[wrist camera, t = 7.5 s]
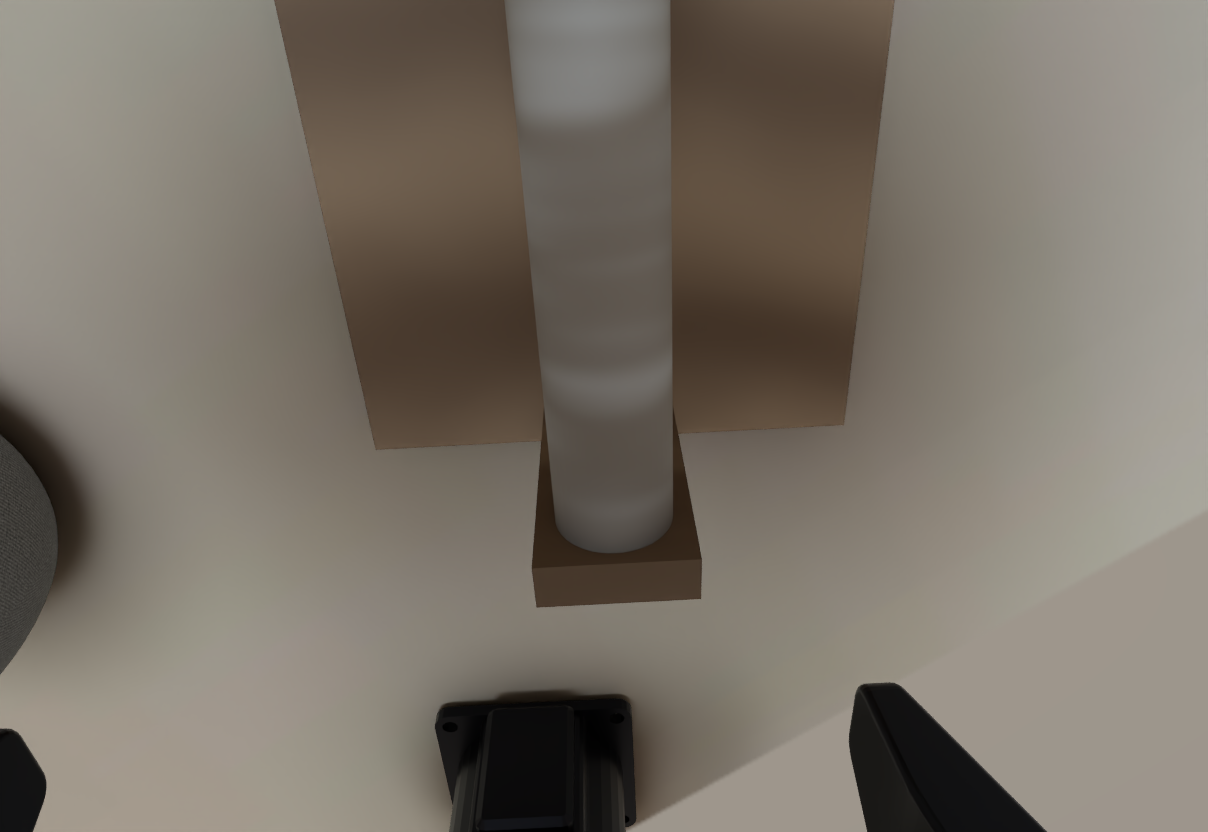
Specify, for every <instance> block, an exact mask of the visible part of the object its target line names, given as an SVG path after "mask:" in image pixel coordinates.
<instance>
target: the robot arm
mask: <svg viewBox="0 0 1208 832" xmlns="http://www.w3.org/2000/svg"><path fill="white" fill-rule="evenodd" d="M615 713H618V714H615ZM435 730H436V734H437V739H438V743H439V747H440V752H441V756H442V760H443V765H444V769H445V774H446V778H447V782H448V787H449V791H450V795H451V800H452V804H453V808H452V815H451V822H450V829H449V832H626V830H625V827H629V826H631V825H633V824H634V823H635V822H636V801H635V779H634V757H633V735H632V714H631V706H630V704H629V703H628V702H627V701H625V700H623V699H616V698H615V699H595V700H576V701H557V702H537V703H518V704H499V705H479V706H460V707H447V708H443V709H442V710H440V711H439V712H438V713H437V717H436V723H435ZM849 747H850V754H851V760H852V764H853V769H854V773H855V778H856V782H857V787H858V792H859V796H860V801H861V805H862V810H863V814H864V819H865V823H866V827H867V832H1047V831H1046V830H1045V829H1043V827H1042V826H1041V825H1040V824H1039V823H1038V822H1037V821H1036V820H1035V819H1034V818H1033V817H1032V816H1031V815H1030V814H1029V813H1028V812H1027V811H1026V810H1025V809H1024V808H1023V807H1022V806H1021V805H1020V804H1019V803H1018V802H1017V801H1016V800H1015V799H1014V798H1013V797H1012V796H1011V795H1010V794H1009V793H1007V791H1006V790H1004V788H1003V787H1002V786H1001V785H1000V784H999V783H998V782H997V781H996V780H995V779H994V778H993V777H992V776H991V775H990V774H989V773H988V772H987V771H986V770H985V769H984V768H983V767H982V766H981V765H980V764H979V763H978V762H977V761H975V759H974V758H973V757H972V756H971V755H970V754H969V753H968V752H967V751H966V750H965V749H964V748H962V746H961V745H960V744H959V743H958V742H956V740H955V739H954V738H953V737H951V735H950V734H948V732H947V731H946V730H945V729H944V728H943V727H942V726H941V725H940V724H939V723H938V722H936V720H935V719H934V718H932V716H931V715H930V714H929V713H927V711H926V710H925V709H923V707H922V706H921V705H919V703H917V701H916V700H915V699H914V698H913V697H912V696H911V695H909V693H907V691H906V690H905V689H903V688H902V687H901V686H900V685H898V684H895V683H890V682H889V683H870V684H862V685H860V686H859V687H858V689H857V691H856V694H855V700H854V707H853V713H852V720H851V726H850V733H849ZM45 794H46V778H45V775H44V772H43V771H42V769H41V767H40V766H39V764H38V763H37V761H36V759H35V758H34V756H33V755H32V753H31V751H30V750H29V748H28V747H27V745H26V743H25V742H24V740H23V739H22V737H21V736H20V735H19V733H18V732H16V731H14V730H12V729H0V832H33V830H34V827H35V824H36V822H37V819H38V816H39V813H40V810H41V808H42V805H43V802H44V799H45Z"/></svg>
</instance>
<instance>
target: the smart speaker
mask: <svg viewBox="0 0 1208 832" xmlns="http://www.w3.org/2000/svg"><path fill="white" fill-rule="evenodd" d="M57 555H58V533H57V524H56V518H55V514H54V510H53V508H52V505H51V502H50V499H49V497H48V495H47V493H46V490H45V488H44V486H43V485H42V483H41V481H40V480H39V478H38V476H37V475H36V473H35V472H34V470H33V469H32V468H31V466H30V465H29V464H28V462H27V461H26V460H25V459H24V457H23V456H22V455H21V454H20V453H19V452H18V451H17V450H16V449H15V448H14V446H13V445H12V444H11V443H9V442H8V441H7V440H6V439H5V438H4V437H3V436H2V435H1V434H0V674H1V673H2V672H3V671H4V669H5V668H6V667H7V665H8V664H9V663H10V661H11V660H12V659H13V657H14V656H15V655H16V653H17V652H18V650H19V649H20V647H21V646H22V644H23V643H24V641H25V640H26V638H27V636H28V634H29V633H30V631H31V629H32V628H33V626H34V624H35V622H36V620H37V618H38V616H39V614H40V612H41V610H42V608H43V606H44V603H45V601H46V598H47V596H48V593H49V590H50V587H51V584H52V581H53V577H54V573H55V569H56V564H57Z"/></svg>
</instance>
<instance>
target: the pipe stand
mask: <svg viewBox="0 0 1208 832" xmlns="http://www.w3.org/2000/svg"><path fill="white" fill-rule="evenodd" d="M274 1H275V6H276V10H277V15H278V19H279V23H280V28H281V32H282V37H283V41H284V46H285V50H286V54H287V59H288V63H289V68H290V72H291V77H292V81H293V85H294V90H295V94H296V99H297V103H298V108H299V112H300V116H301V121H302V125H303V130H304V134H305V139H306V143H307V147H308V152H309V156H310V161H311V165H312V170H313V174H314V178H315V183H316V187H317V192H318V196H319V201H320V205H321V209H322V214H323V218H324V223H325V227H326V231H327V236H328V240H329V245H330V249H331V254H332V258H333V262H334V267H335V271H336V276H337V280H338V285H339V289H340V293H341V298H342V302H343V307H344V311H345V316H346V320H347V324H348V329H349V333H350V338H351V342H352V347H353V351H354V355H355V360H356V364H357V369H358V373H359V378H360V382H361V386H362V391H363V395H364V400H365V404H366V409H367V413H368V417H369V422H370V426H371V431H372V435H373V440H374V444H375V448H376V450H379V449H398V448H417V447H436V446H455V445H473V444H492V443H511V442H530V441H541V453H540V466H539V479H538V493H537V506H536V520H535V533H534V546H533V560H532V573H533V582H534V590H535V598H536V607H555V606H574V605H593V604H612V603H631V602H650V601H670V600H689V599H701V578H702V558H701V552H700V547H699V542H698V536H697V531H696V526H695V521H694V515H693V510H692V505H691V499H690V494H689V489H688V483H687V478H686V473H685V467H684V462H683V457H682V452H681V446H680V441H679V436H678V434H681V433H700V432H719V431H738V430H757V429H776V428H795V427H814V426H833V425H844V420H845V412H846V403H847V395H848V386H849V378H850V370H851V361H852V353H853V344H854V336H855V328H856V319H857V311H858V302H859V294H860V286H861V277H862V269H863V261H864V252H865V244H866V235H867V227H868V219H869V210H870V202H871V193H872V185H873V177H874V168H875V160H876V151H877V143H878V135H879V126H880V118H881V109H882V101H883V93H884V84H885V76H886V68H887V59H888V51H889V42H890V34H891V26H892V17H893V9H894V0H274Z"/></svg>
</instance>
